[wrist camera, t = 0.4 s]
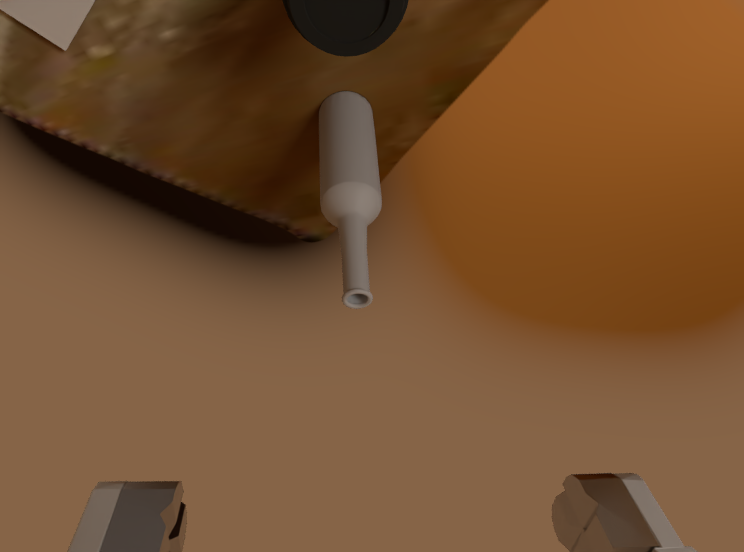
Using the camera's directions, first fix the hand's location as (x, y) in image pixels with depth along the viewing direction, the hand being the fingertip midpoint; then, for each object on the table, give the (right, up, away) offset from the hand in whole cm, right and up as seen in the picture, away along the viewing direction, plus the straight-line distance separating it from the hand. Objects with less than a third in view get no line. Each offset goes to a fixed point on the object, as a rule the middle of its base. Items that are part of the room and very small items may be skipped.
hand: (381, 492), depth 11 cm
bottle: (-3, +25, +51) cm, 57 cm away
